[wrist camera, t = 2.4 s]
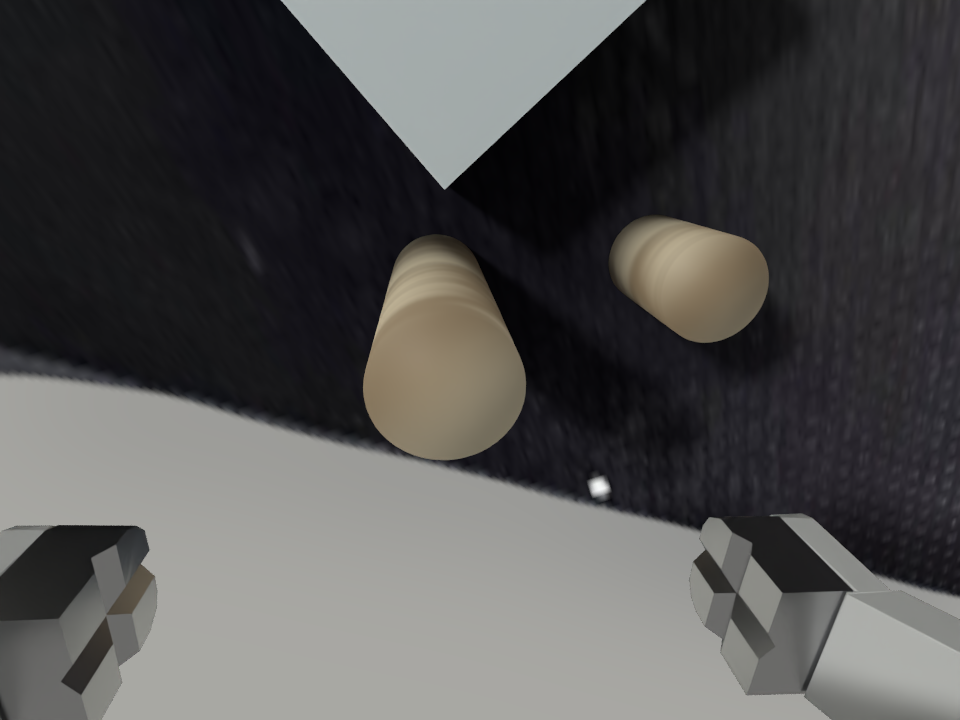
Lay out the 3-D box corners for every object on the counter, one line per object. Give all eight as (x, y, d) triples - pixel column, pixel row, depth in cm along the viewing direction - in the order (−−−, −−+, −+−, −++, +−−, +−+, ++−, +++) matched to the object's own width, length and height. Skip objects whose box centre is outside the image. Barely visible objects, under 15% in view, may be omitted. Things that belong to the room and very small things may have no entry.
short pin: (707, 261, 25) (787, 294, 20) (639, 316, 26) (698, 363, 20) (662, 195, 24) (734, 210, 18) (591, 255, 24) (640, 287, 19)
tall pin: (498, 281, 24) (558, 392, 13) (434, 337, 25) (440, 487, 14) (439, 215, 23) (451, 277, 12) (373, 276, 24) (327, 387, 13)
